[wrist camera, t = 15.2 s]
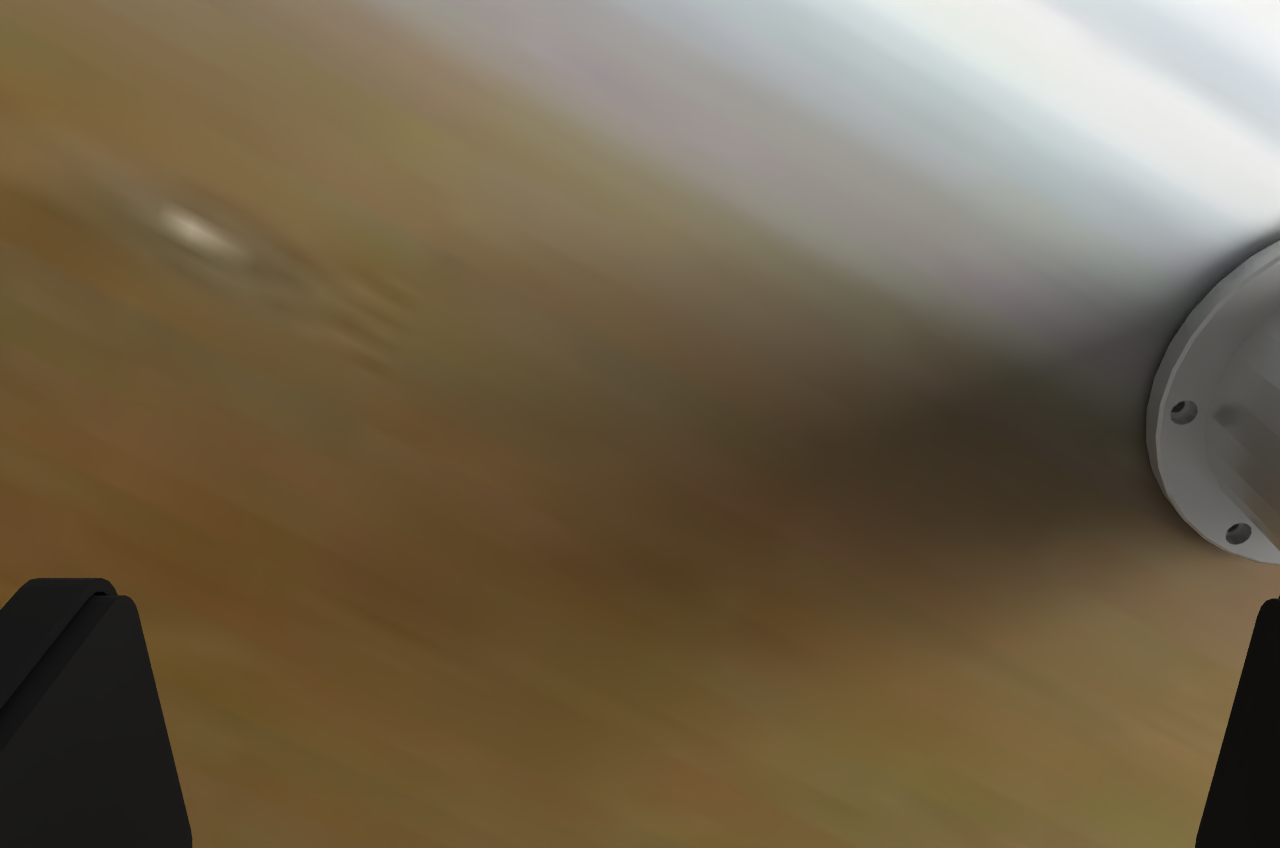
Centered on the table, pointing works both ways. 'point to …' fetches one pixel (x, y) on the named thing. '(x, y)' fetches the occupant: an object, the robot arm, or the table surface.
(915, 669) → the table surface
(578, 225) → the table surface
